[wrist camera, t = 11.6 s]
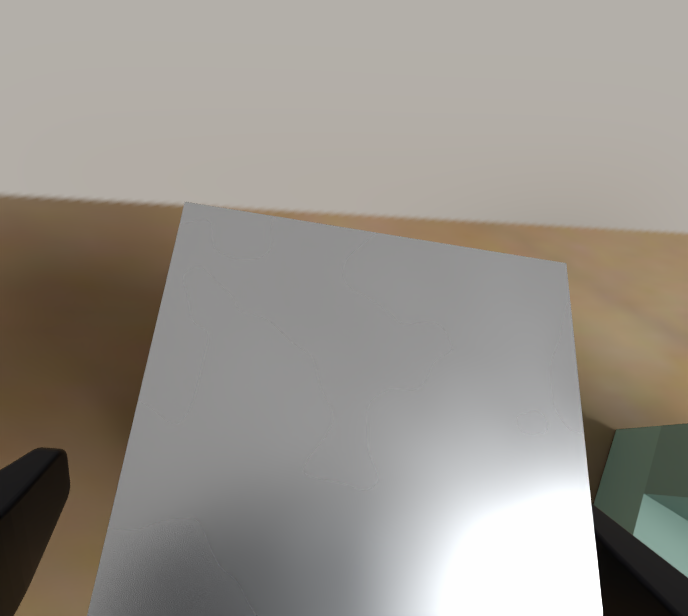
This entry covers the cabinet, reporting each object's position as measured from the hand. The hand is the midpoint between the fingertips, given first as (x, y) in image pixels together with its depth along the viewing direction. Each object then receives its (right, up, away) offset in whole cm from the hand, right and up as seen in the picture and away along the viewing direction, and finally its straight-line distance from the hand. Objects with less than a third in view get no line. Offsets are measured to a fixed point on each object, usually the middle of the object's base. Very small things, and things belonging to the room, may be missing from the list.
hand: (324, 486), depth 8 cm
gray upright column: (-1, -1, +6) cm, 6 cm away
